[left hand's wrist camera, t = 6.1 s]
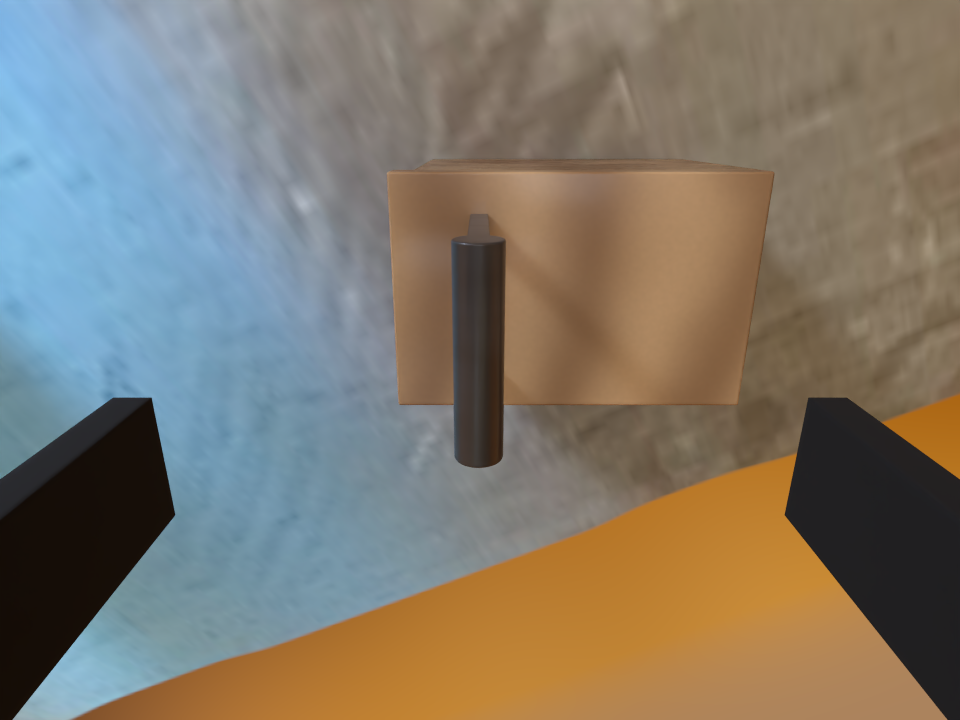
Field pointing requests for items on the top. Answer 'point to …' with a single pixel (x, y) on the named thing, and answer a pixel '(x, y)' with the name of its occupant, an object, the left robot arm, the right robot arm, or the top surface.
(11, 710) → the left robot arm
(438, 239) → the lid
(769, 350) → the top surface
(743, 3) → the top surface
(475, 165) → the chest
